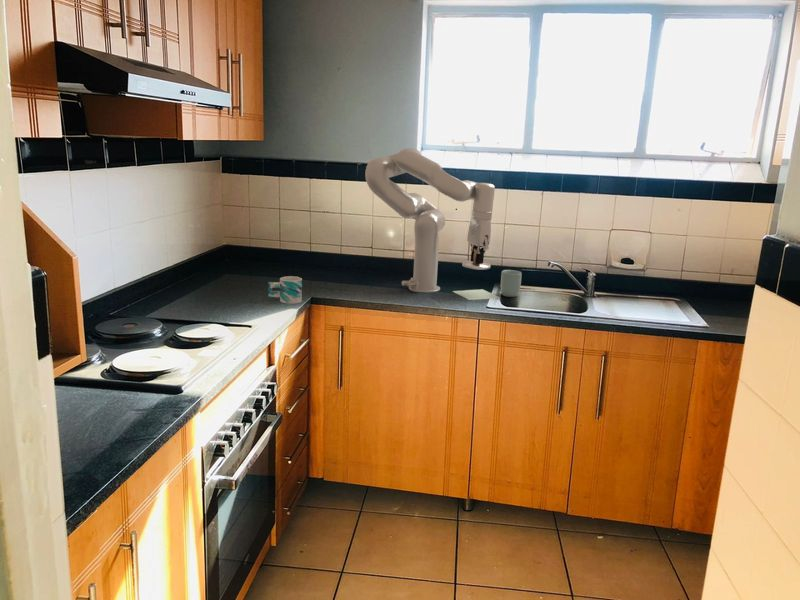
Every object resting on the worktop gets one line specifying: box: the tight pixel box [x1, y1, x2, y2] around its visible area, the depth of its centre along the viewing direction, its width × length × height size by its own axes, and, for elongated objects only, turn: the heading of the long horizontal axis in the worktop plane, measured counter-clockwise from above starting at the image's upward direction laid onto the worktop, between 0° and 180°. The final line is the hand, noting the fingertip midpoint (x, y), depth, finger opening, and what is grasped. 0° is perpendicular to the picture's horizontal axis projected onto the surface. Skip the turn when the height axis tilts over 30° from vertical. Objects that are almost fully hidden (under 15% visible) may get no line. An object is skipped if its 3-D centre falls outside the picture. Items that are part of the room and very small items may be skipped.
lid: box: [461, 248, 491, 271], centre depth 258 cm, size 11×11×7 cm
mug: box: [267, 275, 303, 305], centre depth 240 cm, size 8×12×8 cm
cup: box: [500, 269, 522, 298], centre depth 262 cm, size 8×8×10 cm
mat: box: [451, 288, 501, 301], centre depth 261 cm, size 14×14×1 cm
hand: (476, 262), depth 258 cm, fingers closed on lid, 3 cm apart
